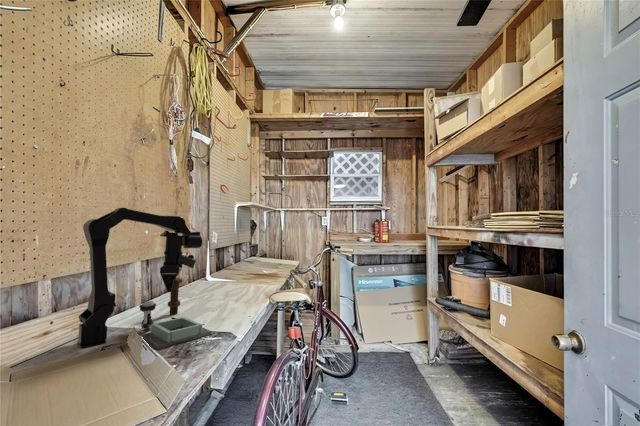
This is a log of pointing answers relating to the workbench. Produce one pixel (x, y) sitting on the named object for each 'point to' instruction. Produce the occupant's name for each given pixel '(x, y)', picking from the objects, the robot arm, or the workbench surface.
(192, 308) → the workbench surface
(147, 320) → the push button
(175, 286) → the bolt
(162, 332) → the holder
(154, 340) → the mounting plate
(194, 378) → the workbench surface
